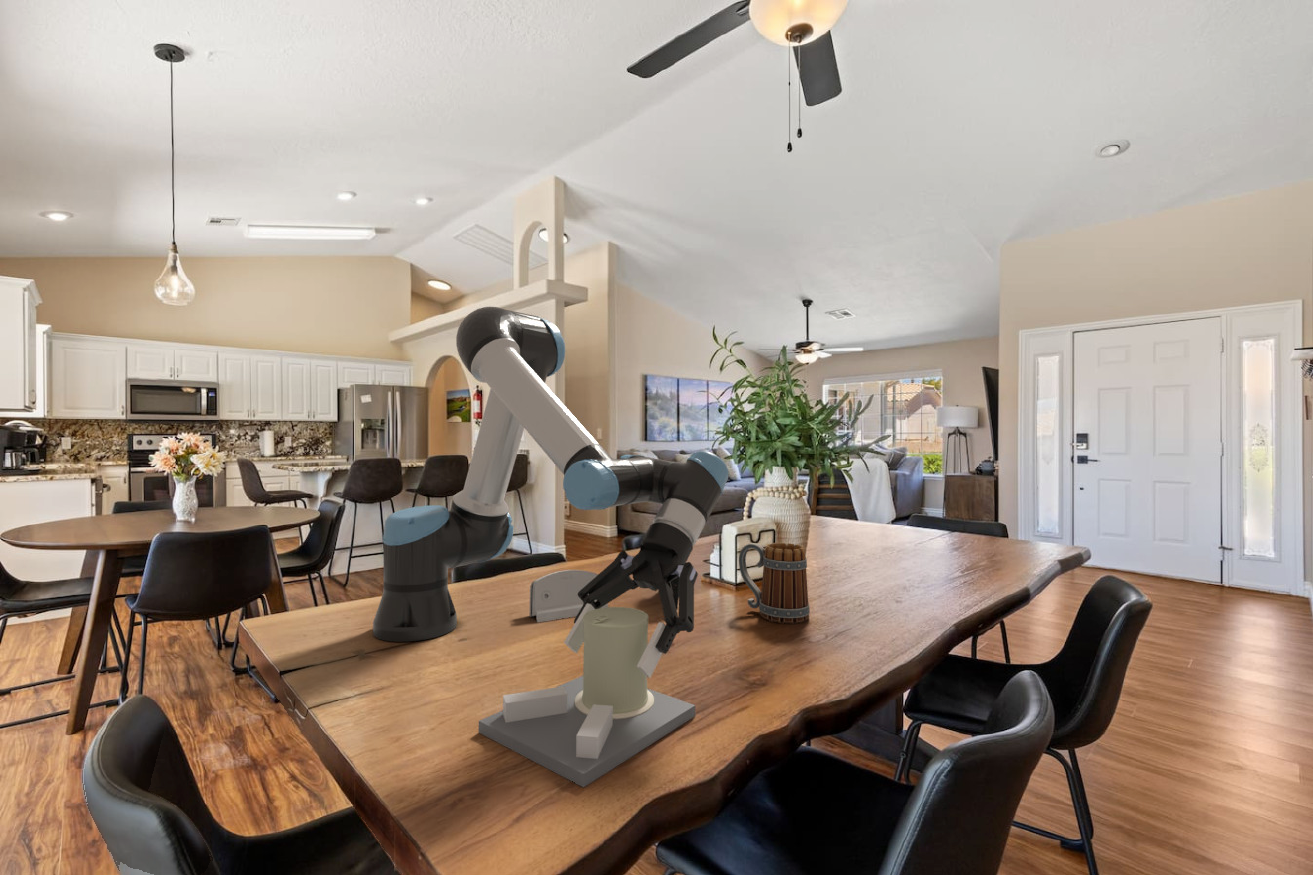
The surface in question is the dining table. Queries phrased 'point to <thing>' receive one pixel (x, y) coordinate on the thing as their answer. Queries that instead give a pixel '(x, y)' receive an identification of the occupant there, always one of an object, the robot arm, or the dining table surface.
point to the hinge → (558, 594)
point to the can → (614, 658)
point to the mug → (779, 582)
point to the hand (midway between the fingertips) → (604, 659)
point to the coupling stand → (580, 729)
